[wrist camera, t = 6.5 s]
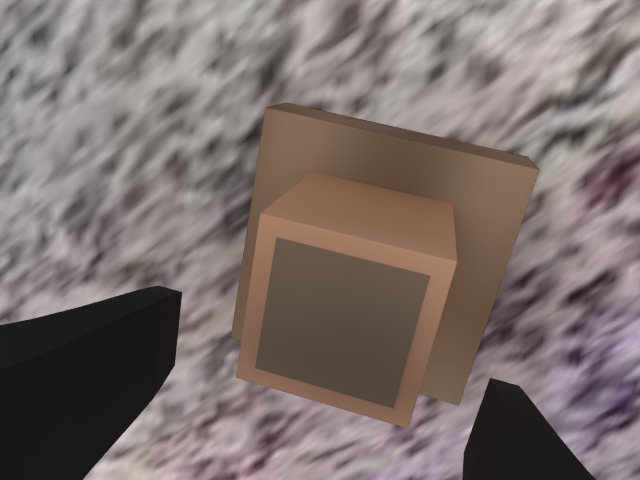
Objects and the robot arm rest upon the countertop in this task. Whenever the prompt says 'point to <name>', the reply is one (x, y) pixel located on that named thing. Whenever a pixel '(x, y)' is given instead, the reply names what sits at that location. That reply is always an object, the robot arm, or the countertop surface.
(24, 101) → the countertop surface
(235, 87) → the countertop surface
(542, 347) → the countertop surface
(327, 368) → the terracotta pot
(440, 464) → the countertop surface
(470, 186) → the walnut block
